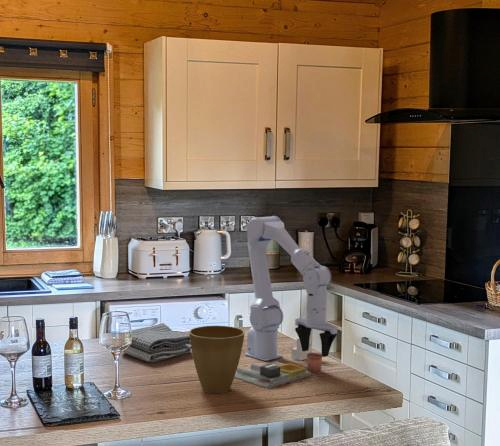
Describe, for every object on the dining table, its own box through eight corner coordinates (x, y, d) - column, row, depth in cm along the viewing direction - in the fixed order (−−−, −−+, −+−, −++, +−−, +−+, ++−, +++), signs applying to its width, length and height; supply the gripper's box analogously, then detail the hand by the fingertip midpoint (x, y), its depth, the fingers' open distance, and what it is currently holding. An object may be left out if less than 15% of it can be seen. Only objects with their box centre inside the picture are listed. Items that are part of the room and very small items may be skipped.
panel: (232, 376, 216) (232, 368, 216) (275, 364, 229) (275, 356, 228) (267, 388, 206) (268, 379, 206) (310, 375, 219) (310, 367, 218)
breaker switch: (260, 377, 212) (260, 365, 212) (269, 374, 215) (270, 362, 215) (270, 380, 209) (270, 368, 209) (280, 377, 212) (280, 365, 212)
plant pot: (254, 390, 204) (256, 332, 203) (212, 402, 194) (214, 341, 192) (218, 377, 215) (219, 322, 213) (177, 387, 205) (178, 329, 203)
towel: (118, 354, 236) (118, 330, 235) (163, 344, 249) (163, 321, 248) (149, 365, 226) (150, 339, 225) (194, 354, 239) (195, 329, 238)
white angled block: (319, 346, 241) (312, 325, 237) (303, 367, 235) (295, 346, 231) (310, 344, 243) (303, 323, 239) (293, 365, 237) (286, 344, 233)
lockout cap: (303, 370, 223) (303, 354, 222) (313, 367, 226) (313, 351, 226) (315, 374, 220) (315, 357, 219) (325, 371, 223) (325, 355, 222)
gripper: (288, 305, 223) (287, 350, 225) (327, 314, 213) (325, 361, 214) (304, 302, 228) (303, 346, 230) (342, 310, 218) (340, 356, 219)
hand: (315, 353), depth 222 cm, fingers open, 7 cm apart
